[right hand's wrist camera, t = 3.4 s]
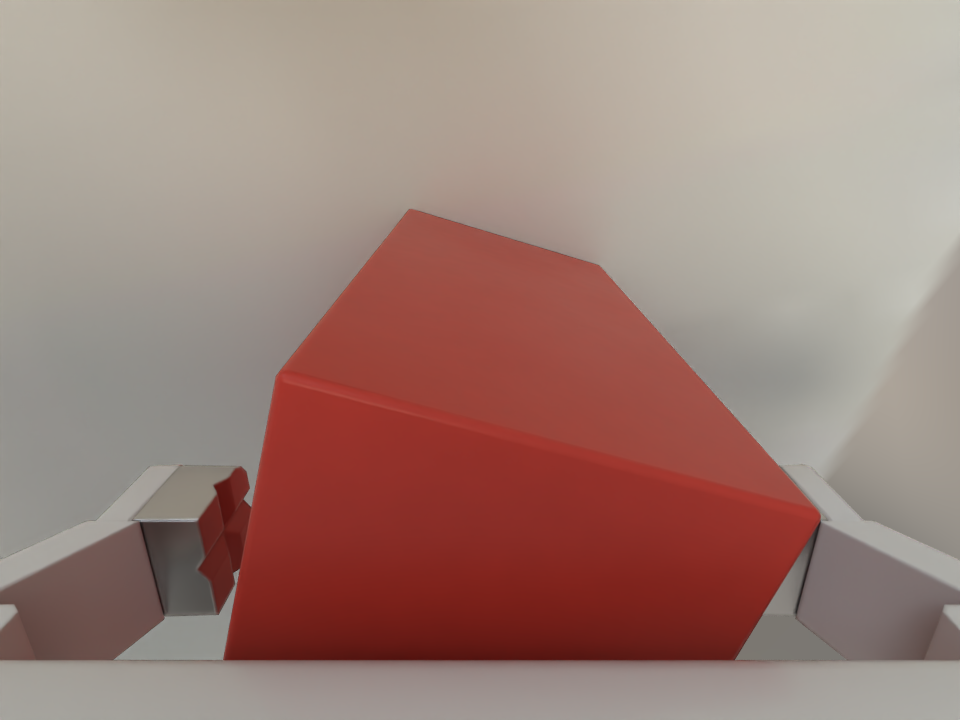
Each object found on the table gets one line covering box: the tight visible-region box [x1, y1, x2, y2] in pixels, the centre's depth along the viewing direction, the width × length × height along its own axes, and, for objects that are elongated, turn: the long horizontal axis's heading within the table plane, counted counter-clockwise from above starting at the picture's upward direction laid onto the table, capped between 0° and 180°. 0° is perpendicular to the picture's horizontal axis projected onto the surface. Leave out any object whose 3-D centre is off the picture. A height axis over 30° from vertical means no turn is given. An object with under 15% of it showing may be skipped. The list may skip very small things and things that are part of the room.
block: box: [223, 209, 821, 660], centre depth 11 cm, size 5×7×11 cm
